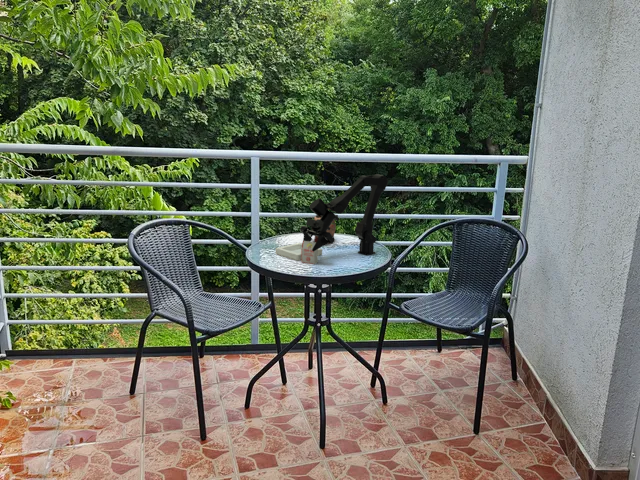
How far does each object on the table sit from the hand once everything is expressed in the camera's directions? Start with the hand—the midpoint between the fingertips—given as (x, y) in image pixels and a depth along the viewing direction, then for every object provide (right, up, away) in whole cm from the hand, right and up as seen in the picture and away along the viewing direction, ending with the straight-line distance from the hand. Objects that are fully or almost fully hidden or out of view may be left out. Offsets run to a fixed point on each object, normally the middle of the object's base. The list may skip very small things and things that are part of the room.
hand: (307, 249), depth 257 cm
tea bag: (+1, -6, +3) cm, 7 cm away
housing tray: (-4, -3, +15) cm, 16 cm away
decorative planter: (+8, +3, +40) cm, 41 cm away
